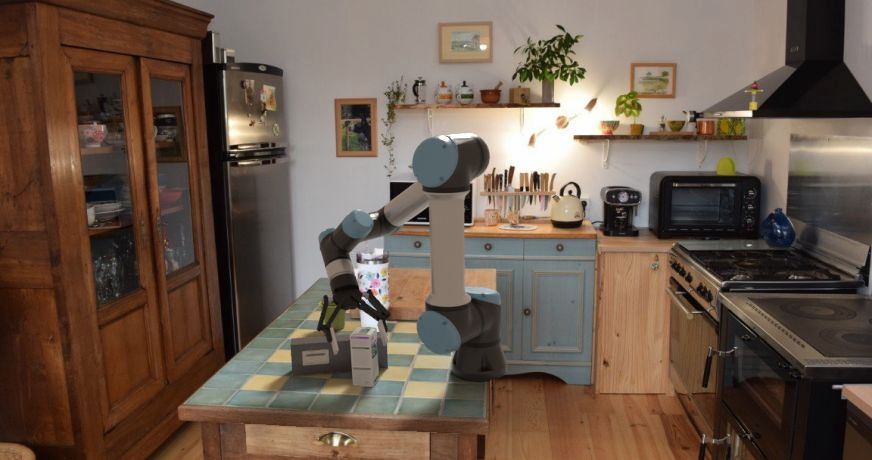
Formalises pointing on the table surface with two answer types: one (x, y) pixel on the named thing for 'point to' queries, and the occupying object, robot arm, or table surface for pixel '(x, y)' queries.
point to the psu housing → (327, 355)
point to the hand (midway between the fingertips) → (361, 348)
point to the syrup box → (364, 356)
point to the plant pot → (340, 318)
